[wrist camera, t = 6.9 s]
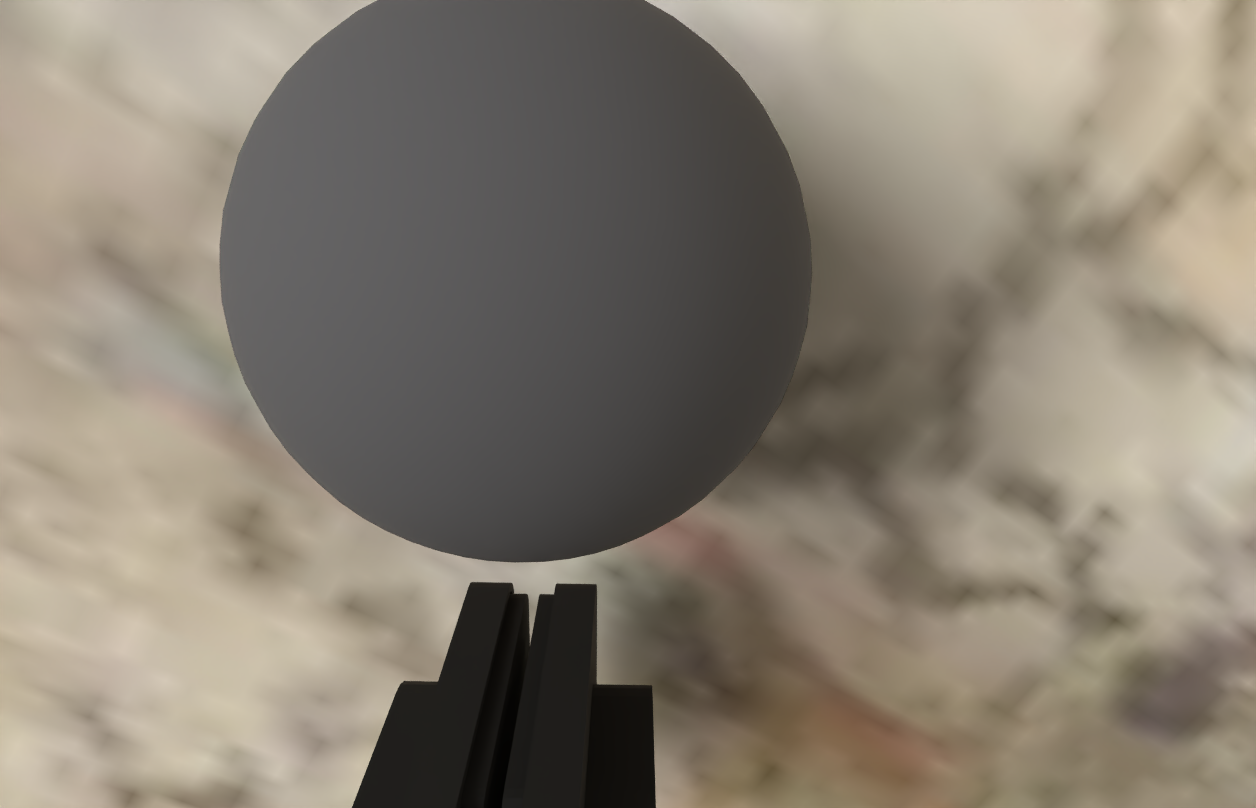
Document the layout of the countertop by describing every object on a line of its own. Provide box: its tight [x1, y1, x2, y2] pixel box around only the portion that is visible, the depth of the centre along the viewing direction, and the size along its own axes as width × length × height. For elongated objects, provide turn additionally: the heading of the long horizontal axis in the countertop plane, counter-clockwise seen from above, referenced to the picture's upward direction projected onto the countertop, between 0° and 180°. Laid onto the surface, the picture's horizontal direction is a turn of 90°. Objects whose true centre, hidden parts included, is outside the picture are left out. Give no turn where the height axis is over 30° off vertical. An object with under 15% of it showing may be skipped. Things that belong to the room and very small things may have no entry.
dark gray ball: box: [220, 0, 812, 562], centre depth 9 cm, size 6×6×6 cm
